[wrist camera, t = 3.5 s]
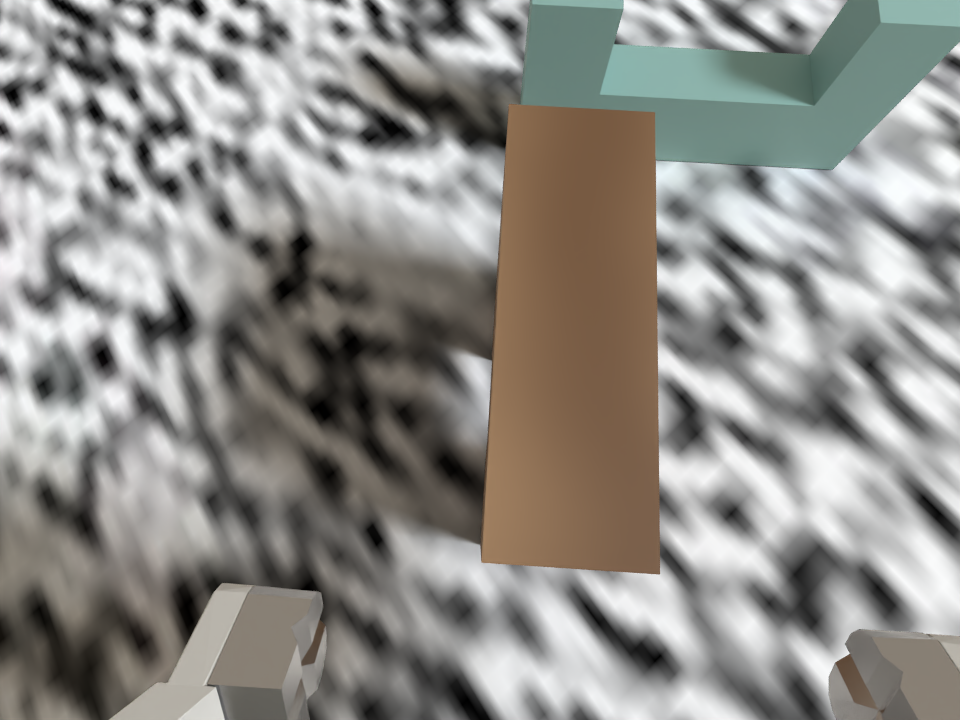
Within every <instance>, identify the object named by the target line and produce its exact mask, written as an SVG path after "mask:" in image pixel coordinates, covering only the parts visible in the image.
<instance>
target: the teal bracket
mask: <svg viewBox="0 0 960 720" xmlns="http://www.w3.org/2000/svg"><path fill="white" fill-rule="evenodd" d="M622 12H623V0H530V5H529V16H528V26H527V37H526V47H525V57H524V68H523V78H522V88H521V99H520V105H535V106H553V107H571V108H590V109H608V110H626V111H644V112H655V154H656V160H668V161H685V162H703V163H721V164H739V165H757V166H774V167H792V168H810V169H828V170H833V169H834V168H835V167H836V166H837V165H838V164H839V163H840V162H841V161H842V160H843V159H844V158H845V157H846V156H847V155H848V154H849V153H850V152H851V151H852V150H853V149H854V148H855V147H856V146H857V145H858V144H859V143H860V142H861V141H862V139H863V138H864V137H865V136H866V135H867V134H868V133H869V132H870V131H871V130H872V129H873V128H874V127H875V126H876V125H877V124H878V123H879V122H880V121H881V120H882V119H883V118H884V117H885V116H886V115H887V114H888V113H889V112H890V111H891V110H892V109H893V108H894V107H895V106H896V105H897V104H898V103H899V102H900V101H901V100H902V99H903V98H904V97H905V96H906V95H907V94H908V93H909V92H910V91H911V90H912V89H913V88H914V87H915V86H916V85H917V84H918V83H919V82H920V81H921V80H922V79H923V78H924V77H925V76H926V75H927V74H928V73H929V72H930V71H931V70H932V69H933V68H934V67H935V66H936V65H937V64H938V63H939V62H940V61H941V60H942V59H943V58H944V57H945V56H946V55H947V54H948V53H949V52H950V51H951V50H952V49H953V48H954V47H955V46H956V45H957V44H958V43H959V42H960V0H848V1H847V2H846V4H845V5H844V7H843V8H842V9H841V11H840V12H839V14H838V15H837V17H836V18H835V19H834V21H833V22H832V24H831V25H830V27H829V28H828V29H827V31H826V32H825V34H824V35H823V37H822V38H821V39H820V41H819V42H818V44H817V45H816V47H815V48H814V49H813V51H812V52H811V54H810V55H803V54H784V53H765V52H746V51H728V50H709V49H690V48H672V47H653V46H634V45H615V44H614V41H615V37H616V34H617V30H618V27H619V23H620V20H621V16H622Z"/></svg>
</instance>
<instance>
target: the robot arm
mask: <svg viewBox="0 0 960 720" xmlns="http://www.w3.org/2000/svg"><path fill="white" fill-rule="evenodd" d="M322 609H323V601H322V595H321V592H315V591H305V590H295V589H285V588H275V587H264V586H255V585H242V584H230V583H222V584H221V585H220V586H219V587H218V588H217V589H216V590H215V591H214V592H213V594H212V596H211V598H210V600H209V602H208V604H207V606H206V608H205V610H204V612H203V614H202V616H201V618H200V619H199V621H198V623H197V625H196V627H195V629H194V631H193V633H192V635H191V637H190V639H189V641H188V643H187V645H186V647H185V649H184V651H183V652H182V654H181V656H180V658H179V660H178V662H177V664H176V666H175V668H174V670H173V672H172V674H171V676H170V678H169V680H168V682H167V683H161V682H157V683H155V684H154V685H153V686H151V687H150V688H149V689H148V690H146V691H145V692H144V693H142V694H141V695H140V696H139V697H137V698H136V699H135V700H134V701H132V702H131V703H130V704H128V705H127V706H126V707H125V708H123V709H122V710H121V711H119V712H118V713H117V714H116V715H114V716H113V717H112V718H111V719H109V720H309V711H308V705H307V699H308V698H309V697H310V696H311V695H312V694H313V693H314V692H315V691H316V690H317V689H318V687H319V683H320V680H321V676H322V672H323V667H324V661H325V655H326V646H327V633H326V625H325V624H324V623H323V622H322V621H320V620H319V619H320V616H321V612H322ZM845 645H846V647H847V649H848V651H849V653H850V654H849V655H847V656H846V657H844V658H842V659H840V660H839V661H837V662H835V664H834V666H833V669H832V671H831V673H830V675H829V698H830V702H831V706H832V711H833V713H834V715H835V718H836V720H960V636H952V635H935V634H924V633H919V632H901V631H883V630H865V629H859V630H857V631H855V632H853V633H851V634H850V636H849V638H848V640H847V641H846V643H845Z"/></svg>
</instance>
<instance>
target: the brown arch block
mask: <svg viewBox="0 0 960 720" xmlns="http://www.w3.org/2000/svg"><path fill="white" fill-rule="evenodd" d="M480 546H481V561H482V563H496V564H511V565H526V566H541V567H556V568H571V569H586V570H601V571H616V572H631V573H647V574H660V530H659V436H658V342H657V248H656V154H655V112H644V111H626V110H608V109H590V108H571V107H553V106H535V105H517V104H509V109H508V124H507V138H506V152H505V166H504V181H503V195H502V209H501V223H500V237H499V252H498V266H497V280H496V296H495V312H494V329H493V346H492V372H491V389H490V405H489V422H488V439H487V450H486V461H485V478H484V495H483V511H482V528H481V544H480Z"/></svg>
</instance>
